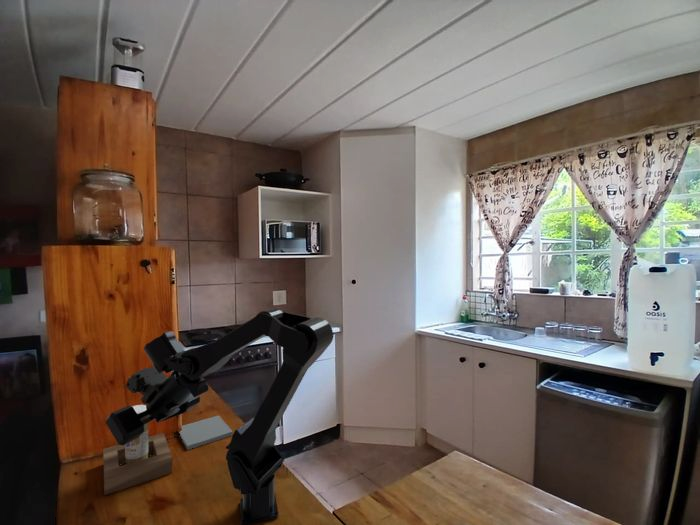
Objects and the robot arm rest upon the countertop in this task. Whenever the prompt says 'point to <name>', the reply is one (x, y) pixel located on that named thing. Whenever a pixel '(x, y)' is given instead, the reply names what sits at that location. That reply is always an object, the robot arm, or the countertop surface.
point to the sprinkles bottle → (138, 442)
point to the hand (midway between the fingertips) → (138, 430)
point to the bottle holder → (136, 465)
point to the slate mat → (204, 432)
